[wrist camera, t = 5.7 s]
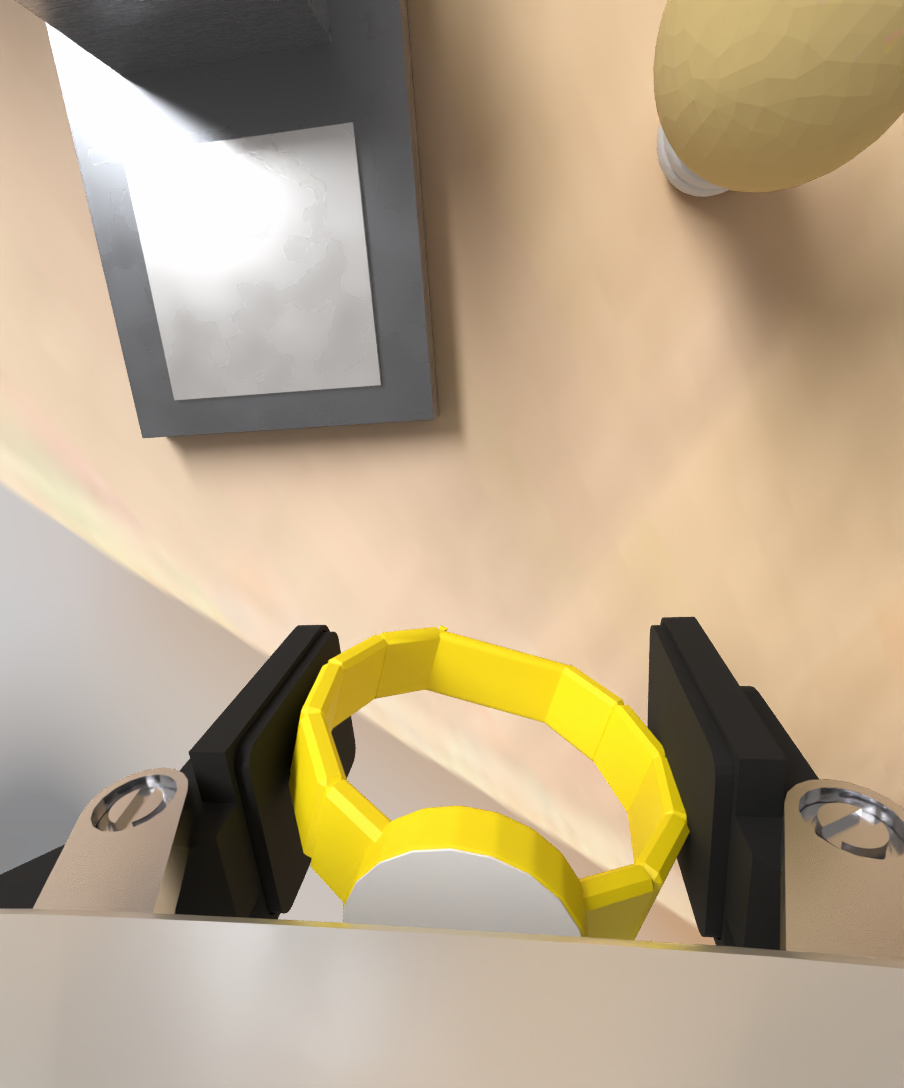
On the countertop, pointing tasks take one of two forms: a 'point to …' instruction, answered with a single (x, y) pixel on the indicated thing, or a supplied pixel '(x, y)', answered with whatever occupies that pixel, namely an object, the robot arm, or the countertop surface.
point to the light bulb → (773, 89)
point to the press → (254, 206)
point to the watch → (469, 833)
